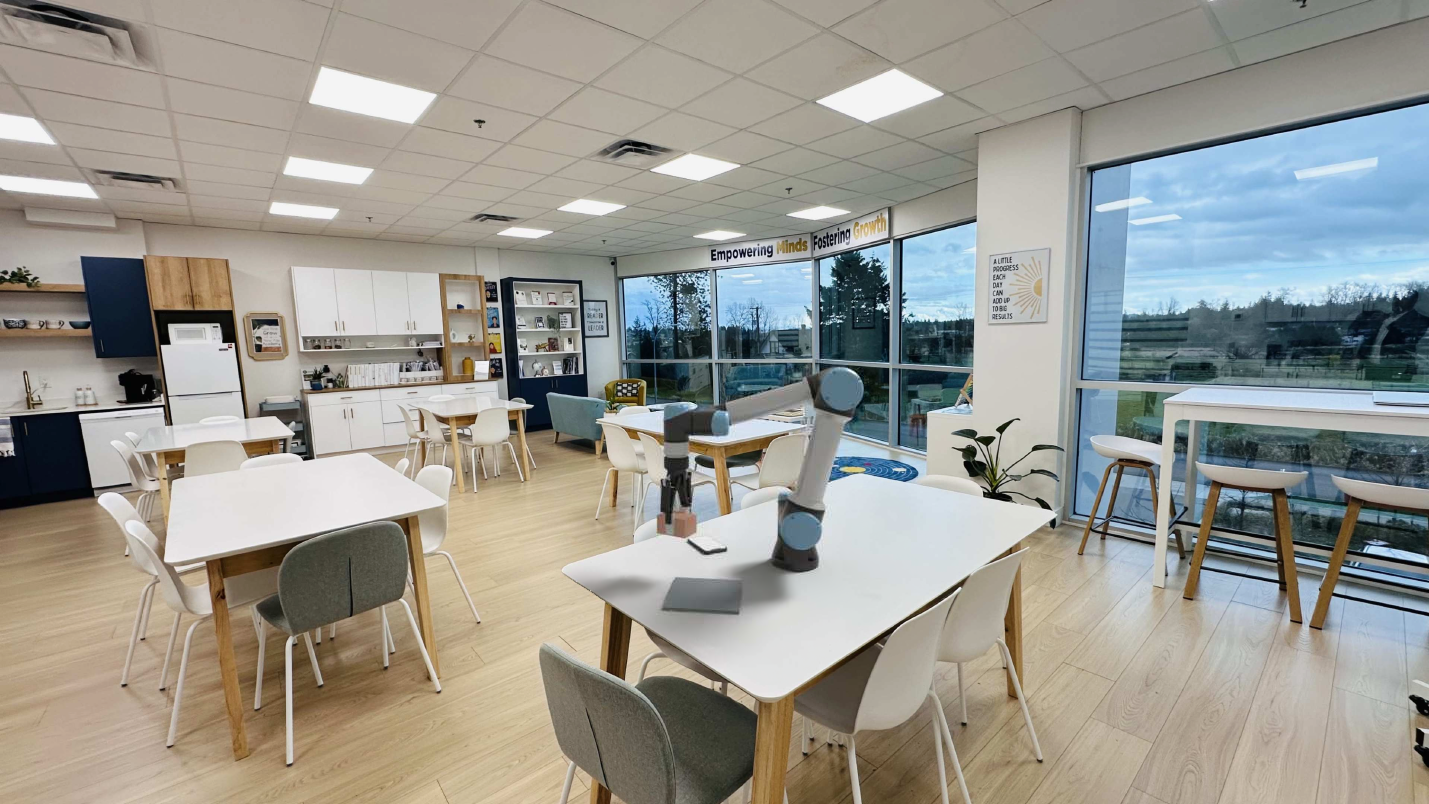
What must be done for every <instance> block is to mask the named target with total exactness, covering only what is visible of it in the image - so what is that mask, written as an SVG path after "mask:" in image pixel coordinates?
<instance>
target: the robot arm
mask: <svg viewBox="0 0 1429 804" xmlns="http://www.w3.org/2000/svg"><path fill="white" fill-rule="evenodd" d="M864 390H865V389H864V384H863V380H862V379H861V377H860V376H859V374H858V373H856V372H855V371H854V370H852V369H850V368H848V367H842V366H833V367H828V368H825V369H823V370H821V371H820V372H817V373H813V374H811V375H808V376H804V377H803V379H802V381H799V382H794V383H792V384H788V385H785V386H781V387H778V388H774V389H769V390H766V391H763V392H759V393H756V394H752V395H748V396H744V397H741V398H737V399H735V400H730V401H727V402H724V403H721V404H717V405H715V404H714V405H710V406H707V407H706V408H704V409H703V410H690V406H689V404H687V403H680V402H679V403H676V402H675V403H668V404H666V405H665V406H664V408H663V420H662V421H663V454H664V455H665V456H664V457H663V468H664V469H665V470H666V471H667V472H666V475H665V476H666V477H665V478H660V488H661V489H660V490H661V491H660V505H659V506H660V509H659V510H660V511H659V512H660V513H665V523H666V534H669V535H675V513H673V511H674V507H675V502H676V495H677V494H678V499H679V504H680V505H679V506H678V512H684V513H689V512H688V510H689V508H691V507H692V503H693V494H692V493H693V492H692V491H693V490H692V475H693V473H692V471H687V470H688V469H689V468H690V456H688V455H689V454H690V437H716V438H719V437H727V436H728V435H729V434H730V427H731V426H734V425H738V424H743V423H745V422H749V421H750V422H751V421H753V420H756V419H760V418H764V417H768V416H772V415H776V414H778V413H782V412H787V411H790V410H794V409H797V408H801V407H805V406H811V407H812V408H813V411H814V412H815V419H814V421H813V426H812V429H811V432H810V436H809V439H808V443H807V446H806V450H805V453H804V457H803V461H802V465H801V467H800V471H799V474H798V477H797V481H796V485H795V487H794V491H793V490H792V491H782V492H780V493H778V495H777V497H778V498H777V501H776V502H777V534H776V535H777V537H776V540H775V541H776V542H775V544H774V547H773V549H772V553H771V563H772V564H773V566H775V567H777V568H779V569H782V570H785V571H793V572H804V571H811V570H813V569H816V568H817V567H819V565H820V557H819V553H818V549H817V546H816V545H817V544H818V543H819V541H820V540H821V538H822V534H823V532H822V531H823V528H822V527H823V526H822V522H823V519H824V516H825V513H826V509H827V506H826V505H825V503H824V497H825V494H826V490H827V486H828V484H829V480H830V477H831V473H832V469H833V467H834V464H835V459H836V457H837V453H838V450H839V446H840V443H841V439H842V435H843V432H844V429H845V425H846V424H847V422H849V421H851V420H852V419H853V417H854V414H855V410H856V408H857V405H859V404H860V402H861V401H862V398H863V395H864ZM669 535H668V536H669Z"/></svg>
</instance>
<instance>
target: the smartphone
mask: <svg viewBox="0 0 1429 804" xmlns="http://www.w3.org/2000/svg"><path fill="white" fill-rule="evenodd" d="M687 542H689V544H690V545H691V546H692V545H693V546H692V547H694V548H695V549H696V550H698V551H699V552H701V554H703V553H704V554H703V555H705V554H706V556H708V555H714V553H716V554H720V553H721V552H722V553H726V552H727V551H728V547H727V546H725V545H724V544H722V543H720V542H719V541H717V540H715V539H714V538H712V537H711V536H710V535H702V536H696V537H689V538H687Z"/></svg>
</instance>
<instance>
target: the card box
mask: <svg viewBox="0 0 1429 804" xmlns="http://www.w3.org/2000/svg"><path fill="white" fill-rule="evenodd" d="M673 513H675V535H669V534H666V523H665V513H663V512H660V513H659V514H657V515H656V534H660V535H665V536H670V537H674V538H675V537H676V538H681V539H688V537H689V538H690V537H691V536H692V535H695V534H696V533H697V532H698V531H697V528H698V527H697V525H698V524H697V518H698V517H697V514H695V513H690V512H688V513H684V512H679V510H678V511H677V510H673Z"/></svg>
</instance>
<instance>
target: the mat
mask: <svg viewBox="0 0 1429 804" xmlns="http://www.w3.org/2000/svg"><path fill="white" fill-rule="evenodd" d="M743 582H744V580H743V579H728V578H727V579H726V578H725V579H724V578H703V577H701V578H700V577H681V576H675V577H674V579H673V582H672V584H671V587H670V589H669V592H668V593H667V596H666V598H665V600H664V603H663V604H662V611H668V610H672V611H671V612H673V610H674V612H686V611H690V613H705V614H707V613H708V614H727V615H729V614H730V615H739V614H740V605H741V600H742V599H741V598H742V590H743V584H744V583H743Z"/></svg>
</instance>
